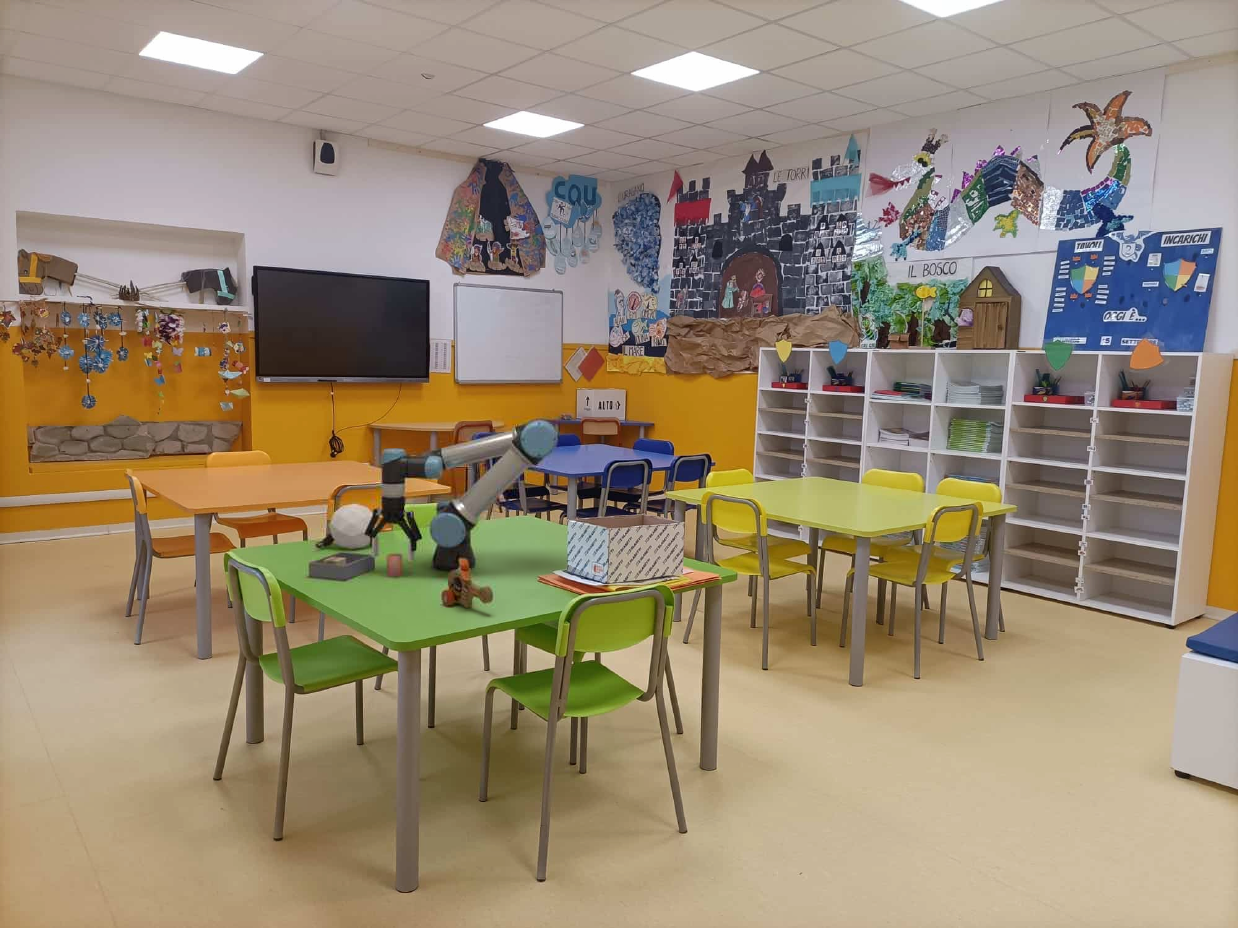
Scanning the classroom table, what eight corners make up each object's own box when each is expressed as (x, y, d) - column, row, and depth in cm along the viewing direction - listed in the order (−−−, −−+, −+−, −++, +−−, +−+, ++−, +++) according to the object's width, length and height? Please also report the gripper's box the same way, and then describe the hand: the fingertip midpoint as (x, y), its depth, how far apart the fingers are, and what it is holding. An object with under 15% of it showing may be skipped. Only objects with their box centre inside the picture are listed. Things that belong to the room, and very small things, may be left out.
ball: (377, 536, 321) (347, 480, 322) (318, 569, 321) (288, 513, 323) (391, 534, 339) (362, 481, 340) (335, 565, 339) (307, 512, 340)
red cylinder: (405, 574, 292) (405, 554, 291) (397, 578, 287) (397, 557, 286) (392, 573, 293) (391, 553, 292) (384, 577, 288) (383, 556, 288)
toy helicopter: (462, 598, 264) (461, 554, 262) (502, 613, 249) (502, 566, 247) (438, 603, 258) (438, 558, 257) (479, 619, 243) (479, 571, 242)
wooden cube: (346, 572, 290) (345, 557, 289) (337, 576, 285) (337, 561, 285) (333, 571, 291) (332, 556, 291) (324, 574, 287) (323, 560, 286)
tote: (340, 565, 303) (340, 551, 302) (375, 569, 299) (374, 554, 298) (309, 577, 286) (308, 562, 285) (344, 581, 282) (344, 566, 281)
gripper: (432, 496, 287) (432, 559, 289) (366, 491, 294) (366, 552, 296) (421, 500, 280) (420, 564, 282) (353, 494, 287) (354, 557, 289)
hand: (393, 558), depth 289 cm, fingers open, 13 cm apart
